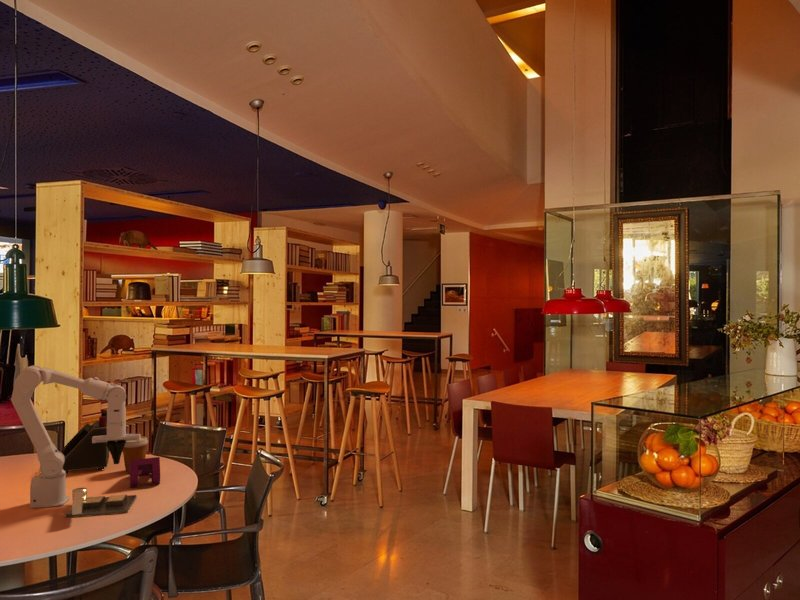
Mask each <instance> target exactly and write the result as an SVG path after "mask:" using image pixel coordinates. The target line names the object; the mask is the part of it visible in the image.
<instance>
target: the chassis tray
mask: <svg viewBox="0 0 800 600" xmlns="http://www.w3.org/2000/svg"><path fill="white" fill-rule="evenodd" d="M136 500H137V494H131V495H128V494H115V495H110V496H104V495H102V496H101V495H100V496H98V495H97V496H87V499H86V500H84V503H83V509H82V514H75V515H72V507H71V508H69V510H68V511H67V512H66V513H65V518H75V517H74V516H79V517H88V516H87V515H92V516H100V514H105V515H112V514H111V513H118V514H126V513H125V512H127V513H128V512H129V511H130V509H131V508H130V507H132V506H133V504H134V503H135V501H136ZM128 510H129V511H128Z"/></svg>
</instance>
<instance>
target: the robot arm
mask: <svg viewBox="0 0 800 600" xmlns="http://www.w3.org/2000/svg"><path fill="white" fill-rule="evenodd" d="M41 383H42V385H43V386H44V385H49V384H53V383H55V384H58V385H63V386H67V387H70V388H73V389H74V388H75V389H79V390H81V392H82V394H83V395H84V396H87V397H90V398H94V399H98V400H101V401H105V400H106V401H107V409H106V412H107V435H102V436H93V437H92V443H98V442H107V448H108V449H109V454H110V455H111V457H112V461H113V465H119V464H120V463H121V462H120V461H121V456H122V454H123V448H124V446H125V444H126V441H140V440H141V437H142V436H141V433H127V408H126V399H127V394H126V390H125V388H124V387H123V386H121V385H119V384H115V383H114V382H110V383H109V382H106V381H103V380H101V379H100V378H99V377H96V376H94V378H92V377H88V378H86V379H84V378H80V377H76V376H75V375H72V374H68V373H65V372H62V371H59V370H56V369H53V368H48V367H44V366H43V367H40V366H39V365H34V364H33V365H30V366H27V367H25V368H24V369H23V370H21V371H20V373H19V374H18V375H17V377H16V378H15V380H14V384H13V390H12V394H11V399H10V401H11V403H12V405H13V408H14V409H15V411H16V413H17V415H18V417H19V420H20V422H22V423H21V424H22V425H23V427H24V429H25V432H26V433H27V435H28V438H29V439H30V441H31V443H32V445H33V448H34V449H35V452H36V455H37V460H38V461H39V471H40V474H39V475H35V476H33V477H32V478H31V481H30V486H29V487H30V489H29V490H30V491H29V494H30V495H29V498H30V503H29V507H28V508H30V509H35V508H49V507H59V506H60V507H61V506H64V505H65V504H66V502H68V501H69V500H70V499H71V496H67V495H66V494H67V493H66V492H67V491H66V490H67V486H66V484H67V483H66V477H67V476H66V472H65V471H64V470H63V464H64V462H65V457H64V455H63V454H62V453H61V451H59V450H58V447H56V444H55V443H54V442H53V441H52V439H51V437H50V435H49V433H48V431H47V429H46V427H45V425H44V423H43V421H42V419H41V417H40V415H39V413H38V411H37V409H36V407H35V404H34V403H33V401H32V396H33V394H34V392H35V390H36V389H37V388H38V386H39V385H40V384H41Z"/></svg>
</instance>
